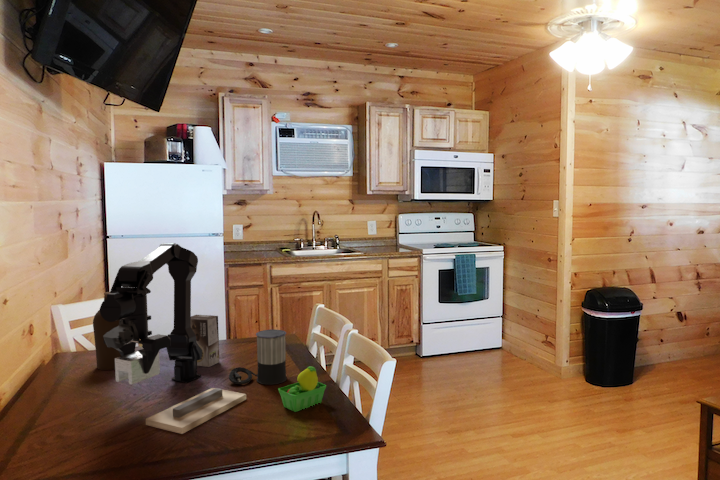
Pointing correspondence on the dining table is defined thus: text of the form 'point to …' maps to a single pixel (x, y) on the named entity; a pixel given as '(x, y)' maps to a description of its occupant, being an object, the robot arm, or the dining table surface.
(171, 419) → the rail board
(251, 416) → the dining table surface
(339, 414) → the dining table surface
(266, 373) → the milk frother
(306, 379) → the fruit basket
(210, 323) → the coffee box
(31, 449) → the dining table surface
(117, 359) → the saddle block
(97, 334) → the olive oil
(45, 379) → the dining table surface
